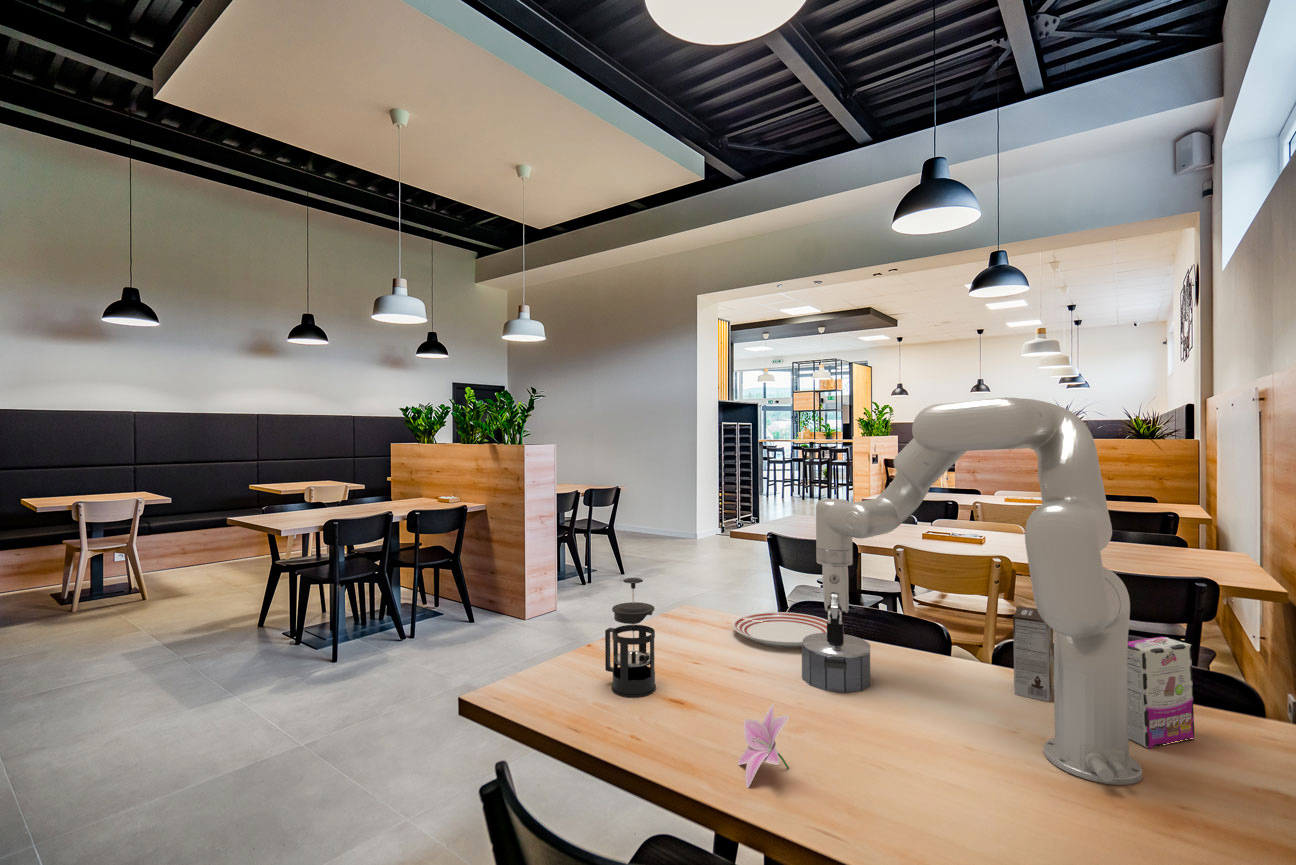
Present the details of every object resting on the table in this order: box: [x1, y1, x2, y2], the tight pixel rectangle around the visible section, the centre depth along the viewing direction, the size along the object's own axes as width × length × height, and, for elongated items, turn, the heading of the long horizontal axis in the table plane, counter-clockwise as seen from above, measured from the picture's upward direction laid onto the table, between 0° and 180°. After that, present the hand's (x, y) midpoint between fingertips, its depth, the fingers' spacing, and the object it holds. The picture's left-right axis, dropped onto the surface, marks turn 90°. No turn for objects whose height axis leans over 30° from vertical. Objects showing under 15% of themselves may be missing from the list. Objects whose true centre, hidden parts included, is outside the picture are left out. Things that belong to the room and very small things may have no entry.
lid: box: [803, 621, 871, 659], centre depth 130 cm, size 14×14×6 cm
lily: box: [737, 703, 790, 788], centre depth 94 cm, size 12×12×10 cm
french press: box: [604, 577, 657, 699], centre depth 127 cm, size 12×9×23 cm
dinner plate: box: [732, 611, 828, 649], centre depth 159 cm, size 27×27×3 cm
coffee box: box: [1012, 606, 1054, 703], centre depth 124 cm, size 9×6×16 cm
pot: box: [801, 642, 871, 694], centre depth 131 cm, size 17×14×7 cm
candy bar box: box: [1127, 636, 1196, 749], centre depth 104 cm, size 11×5×16 cm, turn 105°
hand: (835, 635), depth 131 cm, fingers open, 9 cm apart
